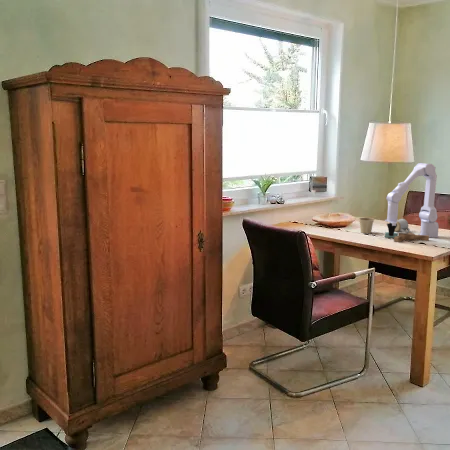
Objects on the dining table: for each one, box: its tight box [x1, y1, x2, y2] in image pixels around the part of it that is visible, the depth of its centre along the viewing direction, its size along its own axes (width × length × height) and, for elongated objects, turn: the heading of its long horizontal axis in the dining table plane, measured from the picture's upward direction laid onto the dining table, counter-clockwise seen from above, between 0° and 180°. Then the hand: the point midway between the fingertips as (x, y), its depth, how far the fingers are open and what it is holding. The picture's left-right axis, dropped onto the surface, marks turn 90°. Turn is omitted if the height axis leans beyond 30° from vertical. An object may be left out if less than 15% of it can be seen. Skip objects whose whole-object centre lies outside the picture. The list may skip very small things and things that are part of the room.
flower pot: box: [358, 217, 375, 234], centre depth 304 cm, size 9×9×9 cm
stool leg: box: [384, 231, 408, 239], centre depth 288 cm, size 13×2×4 cm, turn 69°
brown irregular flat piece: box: [393, 232, 430, 243], centre depth 284 cm, size 22×13×3 cm, turn 92°
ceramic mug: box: [394, 218, 411, 233], centre depth 307 cm, size 11×8×8 cm
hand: (391, 235), depth 288 cm, fingers closed
